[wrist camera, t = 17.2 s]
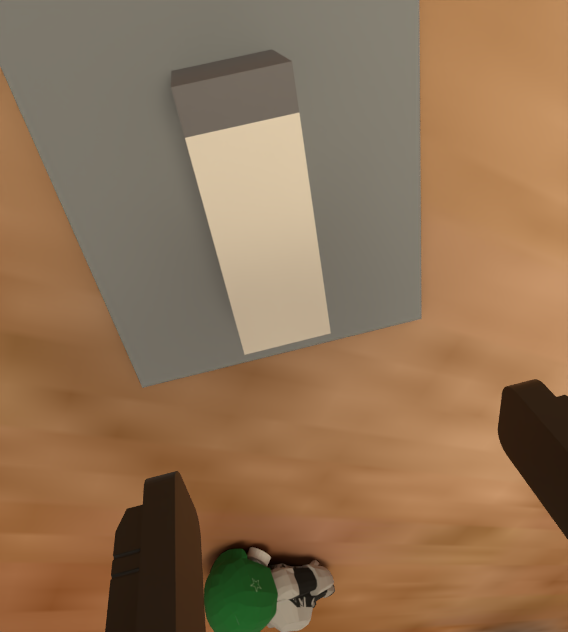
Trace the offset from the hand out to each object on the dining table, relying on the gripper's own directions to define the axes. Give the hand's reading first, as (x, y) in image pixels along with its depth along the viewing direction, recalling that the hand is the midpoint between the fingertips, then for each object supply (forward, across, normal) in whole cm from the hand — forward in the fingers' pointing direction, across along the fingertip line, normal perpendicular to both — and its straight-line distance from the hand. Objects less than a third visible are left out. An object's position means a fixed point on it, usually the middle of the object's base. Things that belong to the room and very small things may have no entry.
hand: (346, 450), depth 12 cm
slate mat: (+20, 0, 0) cm, 20 cm away
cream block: (+17, 0, +7) cm, 18 cm away
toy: (+20, +6, +38) cm, 43 cm away
